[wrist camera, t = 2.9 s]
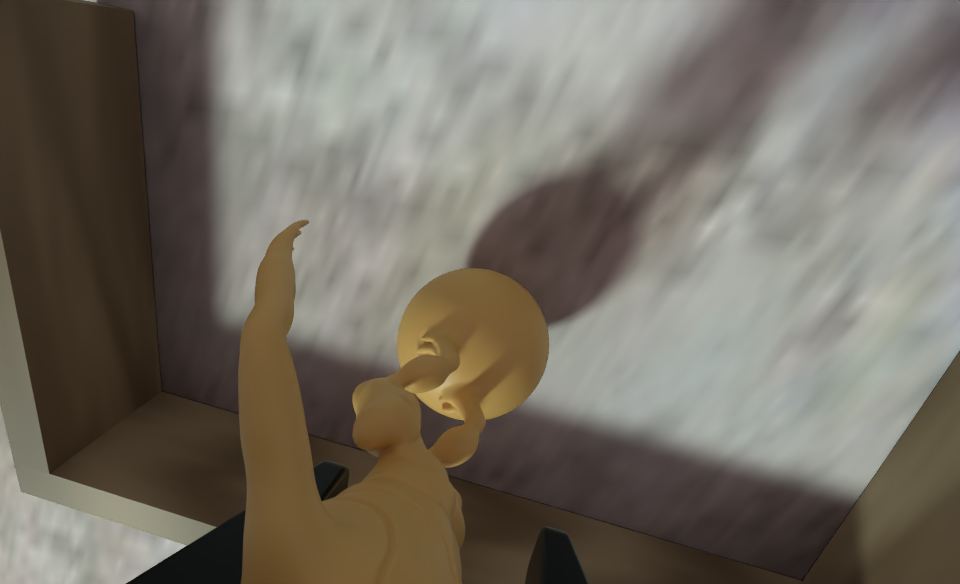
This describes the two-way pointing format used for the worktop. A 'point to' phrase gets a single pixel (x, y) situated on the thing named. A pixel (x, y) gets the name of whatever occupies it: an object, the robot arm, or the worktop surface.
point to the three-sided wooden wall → (216, 432)
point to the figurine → (379, 430)
